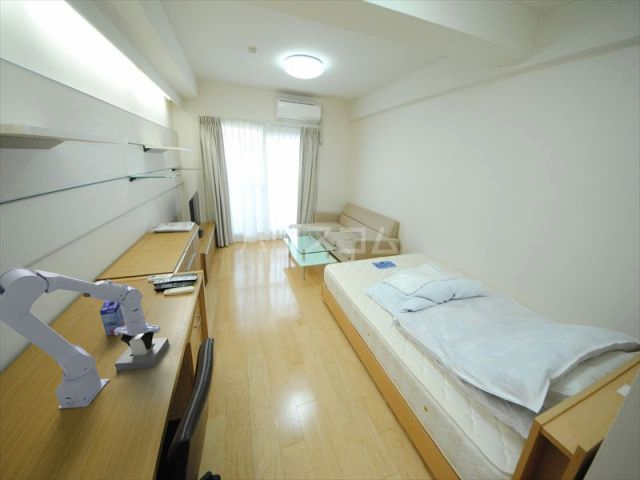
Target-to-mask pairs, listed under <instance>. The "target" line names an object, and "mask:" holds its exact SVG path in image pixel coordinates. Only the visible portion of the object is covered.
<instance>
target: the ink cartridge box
mask: <svg viewBox="0 0 640 480" xmlns="http://www.w3.org/2000/svg"><path fill="white" fill-rule="evenodd" d="M99 314H100V318H101V321H102V324H103V327H104V332H105V336H109V335H115V333H114V330H115V329H116V328H117V327H124V326H125V322H124V318H123V315H122V311H121V307H120V302H110V301H104V302H103V305H102V307H101V308H100V310H99Z"/></svg>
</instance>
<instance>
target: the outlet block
mask: <svg viewBox="0 0 640 480" xmlns="http://www.w3.org/2000/svg"><path fill="white" fill-rule="evenodd" d="M152 344H153V348H152V349H151V351H150V352H149V353H148V355H146V356H133V354H132V350H131V348H130V347H129V346H128V348H127V349H126V350H125V351H124V352H123V353H122V354H121V356H120V357H119V358H118V359H117V360H116V361H115V362H114V367H115V369H116V371H122V370H123V371H124V370H126V371H127V370H142V369H145V370H146V369H153V368H154V366H156V364H157V362H159V360H160V358H161V356H162V355H163V354H164V352H165V351H166V349H167V348H168V346H169V345H170V342H169V338H168V337H157V338H154V337H153V339H152Z"/></svg>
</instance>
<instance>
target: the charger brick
mask: <svg viewBox="0 0 640 480" xmlns="http://www.w3.org/2000/svg"><path fill="white" fill-rule="evenodd" d="M143 334H144V333H143ZM143 334H138V335H134V336H133V337H132V339H131V340H130V341H129V343H130V347H131V350H132V354H133V356H146V355H148V353H149V352H150V351H151V349H152V348H153V344H152V347H151V348H150V349H149V350H147V349H146V347H145V344H144V342H143V341H142V340H141V337H142V336H143Z"/></svg>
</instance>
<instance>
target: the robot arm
mask: <svg viewBox="0 0 640 480" xmlns="http://www.w3.org/2000/svg"><path fill="white" fill-rule="evenodd" d="M57 290H65V291H68V292H69V291H71V292H78V293H83V294H84V293H85V294H89V295H90V297H91V298H92V299H94V300H99V301H104V302H105V301H110V302H120V307H121V311H122V315H123V318H124V322H125V323H124V326H123V327H117V328H116V329H115V330H114V333H115V334H114V335H115V336H119V335H122V336H121V337H120V341H121V342H124V343H125V344H126V345H127V346H128V348H129V347H130V343H129V341H130V340H131V339H132V337H133V336H134V335H138V334H143V333H144V334H143V336H142V337H141V340H142V341H143V342H144V344H145V347H146V349H147V350H149V349H150V348H151V347H152V339H153V338H154V335H155V334H158V333H160V331H161V327H160V325H155V324H150V323H147V321H146V317H145V313H144V309H143V306H142V302H141V301H142V299H143V293H141V291H140V290H139V289H137V288H135V287H133V286H131V285H128V284H124V283H123V284H120V283H119V284H118V283H115V282H114V281H113V280H110V279H106V280H98V281H97V282H91V281H87V280H83V279H80V278H75V277H71V276H67V275H64V274H60V273H56V272H52V271H51V272H50V271H46V270H45V271H44V270H40V269H34V271H33V270H31V269H29V268H26V267H15V268H10V269H7V270H5V271H4V272H2V273H1V274H0V321H1V323H3V324H5V325H6V326H8V327H9V328H11V329H12V330H14V331H15V332H16V333H18V334H19V335H20V336H22V337H23V338H24V339H26V340H27V341H29V342H31V344H32V345H34V346H35V347H37V348H39V349H40V350H42V351H43V352H44V353H46V354H47V355H49V356H50V357H51V358H53V360H55V363H56V365H58V366H59V367H60V368H61V369H62V370H63V371H62V372H61V373H62V374H61V377H62V378H61V381H60V384H59V385H58V386H57V388H55V391H54V394H55V396H56V398H57V401H58V403H59V405H58V409H72V408H73V409H74V408H86V407H87V406H89V405H90V404H91V403H92V402H93V400H94V399H95V398H96V396H97V395H98V394H99V393H100V391H102V389H103V388H105V386H106V385H107V383H108V382H109V378H101V377H100V374H99V372H98V368H97V366H96V358H95V356H92V355H91V354H89V353H88V352H87V351H86V350H85V349H84V347H82V346H81V345H78V344H77V345H76V344H73V343H71V342H69V341H67V339H66V338H64V337H63V336H62V335H60V334H59V333H58V332H57V331H55V330H54V329H53V328H52V327H50V326H49V325H47V324H46V322H45V321H43V320H42V319H40V318H39V317H38V316H37V315H35V314H34V313H33V312H31V311H30V310H31V308H32V307H33V304H34V303H35V302H36V301H37V300H38V299H39V298H40V297H41V296H42V295H43V294H44V293H45V294H47V295H49V294H51V293H54V292H55V291H57ZM130 348H131V347H130Z"/></svg>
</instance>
